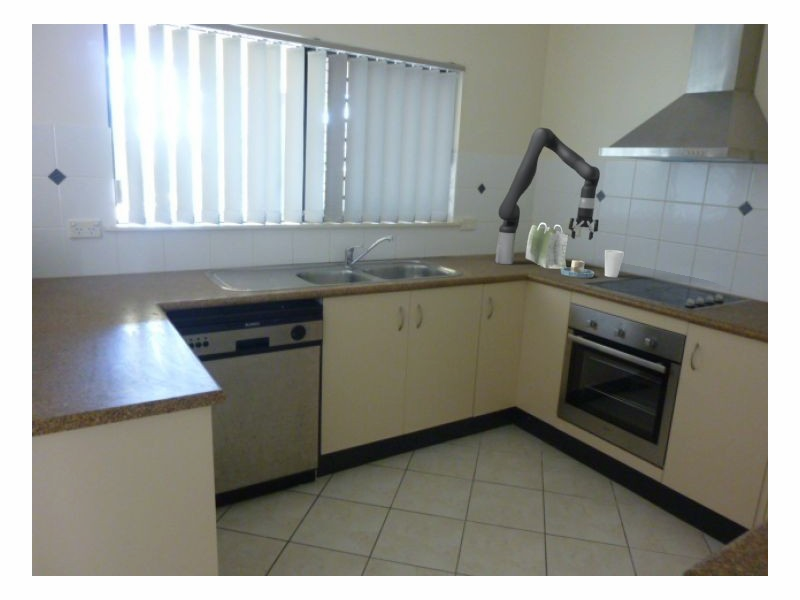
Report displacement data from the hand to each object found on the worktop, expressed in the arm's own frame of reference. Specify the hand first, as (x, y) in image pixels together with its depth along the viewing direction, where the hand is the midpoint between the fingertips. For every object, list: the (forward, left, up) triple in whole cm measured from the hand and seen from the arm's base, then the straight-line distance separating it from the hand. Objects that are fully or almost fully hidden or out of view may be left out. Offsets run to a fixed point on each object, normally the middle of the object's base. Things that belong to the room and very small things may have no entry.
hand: (581, 239), depth 288 cm
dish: (0, 0, -19) cm, 19 cm away
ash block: (0, 0, -17) cm, 17 cm away
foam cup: (+19, +3, -19) cm, 27 cm away
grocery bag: (-8, +33, -19) cm, 39 cm away
